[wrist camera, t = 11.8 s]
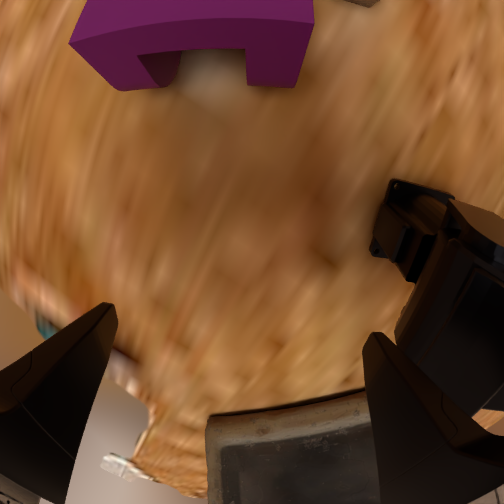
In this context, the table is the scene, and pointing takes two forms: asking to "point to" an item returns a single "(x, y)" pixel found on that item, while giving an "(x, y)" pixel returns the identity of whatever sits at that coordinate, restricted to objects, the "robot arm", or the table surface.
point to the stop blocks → (364, 2)
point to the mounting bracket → (192, 38)
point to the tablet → (294, 455)
